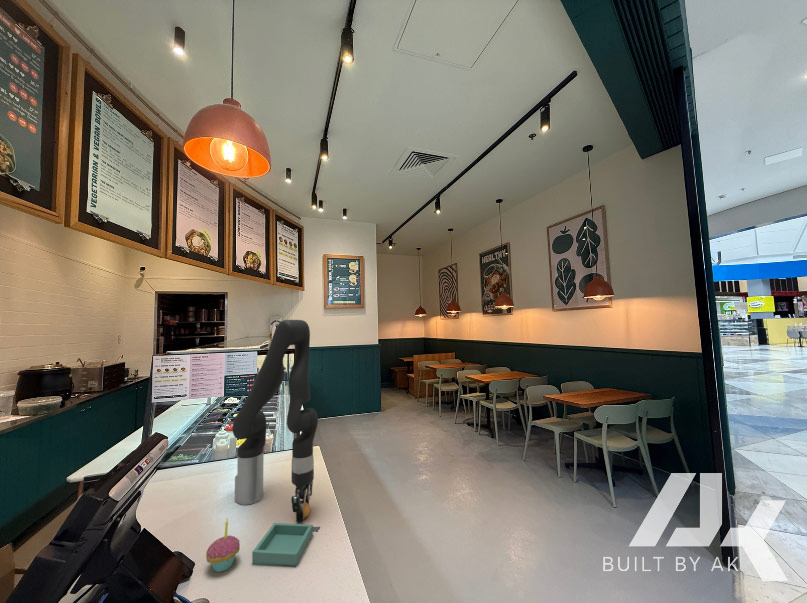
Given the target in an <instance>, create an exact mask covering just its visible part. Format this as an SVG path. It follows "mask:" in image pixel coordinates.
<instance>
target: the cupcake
mask: <svg viewBox="0 0 807 603" xmlns="http://www.w3.org/2000/svg"><path fill="white" fill-rule="evenodd" d="M224 525H225V527H224V536H222V537H220V538H217V539H216V540H215V541H213V542H212V543H211V544H210V545H209V546H208V548H207V550H206V551H205V552H206V554H205V555H206V556H205V557H206V563H210V564H211V566H212V568H213V570H214V571H215V572H217V573H221V572H224V571H226V570H228V569H229V568H230V567H231V566H232V565H233V562H234V559H235V557H236V555H237V554H238V553H239V552H240V547H241V545H240V544H241V543H240V539H238V538H237V537H235V536H233V535H228V527H229V526H228V525H229V521H228V518H226V521H225V524H224Z"/></svg>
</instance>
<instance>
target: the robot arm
mask: <svg viewBox="0 0 807 603" xmlns="http://www.w3.org/2000/svg"><path fill="white" fill-rule="evenodd" d="M310 331H311V330H310V326H309V324H308V323H307V322H306V321H305V320H303V319H283V320H281V321H280V322H279V323H278V324H277V325H276V328H275V330H274V333H273V335H272V337H271V338H272V339H271V340H270V341H271V342H270V344H269V348H268V351H267V353H266V355H265V357H264V360H263V362H262V365H261V367H260V369H259V371H258V373H257V375H256V377H255V378H254V379H255V380H254V381H253V384H252V386H251V388H250V390H249V393H248V394H247V396H246V399H245V400H244V403H243V405H242V406H241V408H240V409H239V411H238V412H237V414H236V416H235V418H234V420H233V421H232V428H231V429H232V434H233V436H234V438H235V439H237V440H244V441H243V442H242V443H241V444H240V445H239V447H238V448H237V454H236V455H237V460H236V463H237V464H236V465H237V466H236V467H237V468H236V469H237V472H236V475H235V476H234V502H235V503H238V504H239V505H241V506H247V505H252V504H255V503H258V502H259V501H260V499H261V498H262V499H263V498H264V449H265V448H264V447H265V445H266V440H267V438H266V437H267V417H266V414H265V413H264V411H263V410H262V409H263V407H265V406H266V405H267V404H268V403H269V402H270V401H271V400H272V399H273V397H274V396H275V395H276V394H277V393H278V391H279V390H280V387H281V385H282V383H283V381H284V378H285V372H286V371H285V365H284V358H285V355H286V353H287V350H288V349H289V347H290V346H294V350H295V351H294V352H295V353H294V360H293V364H292V367H291V370H290V373H289V377H288V393H289V403H288V411H287V415H286V426H287V429H288V430H289V431H290V433H292V434H298V433H300V434H299V435H298V436H296V437H295V438H294V439H293V440H292V446H291V449H292V450H291V452H292V453H291V454H292V457H291V484H292V485H293V486H295V490H294V495H292V496H291V499H290V500H291V508H292V509H291V510H292V513H295V512H296V514H295V520H296V522H297V523H302V522H303V521H304V518H303V506H304V503H305V502H307V503H308V504H309V505H310V501H311V497H312V494H313V487H314V484H313V483H314V477H315V476H314V475H315V471H314V469H315V466H314V465H315V463H314V462H315V461H314V460H315V459H314V439H315V435H316V431H317V428H318V422H319V416H318V413H317V411H316V410H315V409H314V408H313V407H308V408H305V409H304V408H303V409H302V407H303V405H304V404H305V403H307V402H309V401H310V400H311V388H310V378H309V376H310V375H309V361H310V360H309V359H310V345H311V344H310V342H311V341H310V340H311V332H310ZM262 499H261V500H262Z"/></svg>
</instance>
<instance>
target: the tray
mask: <svg viewBox="0 0 807 603" xmlns="http://www.w3.org/2000/svg"><path fill="white" fill-rule="evenodd" d="M313 527H314V525H313V524H306V523H303V524H302V523H284V522H282V523H281V522H273V524H272V525H271V526H270V528H269V529H268V531H267V532H266V533H265V535H264V536H263V537H262V538H261V540H260V541H259V542H258V543H257V545H256V547H255V548H254V549H253V550H252V552H251V554H252V556H251V558H252V559H251V561H252V563H251V564H252V565H253V566H254V565H255V566H257V565H258V566H269V567H271V566H272V567H273V566H274V567H289V568H297V566H298V565H299V563H300V561H301V559H302V557H303V555H304V553H305V551H306V550H305V549H307V548H308V546H309V544H310V542H311V541H312V539H313V536H314V532H313ZM309 541H310V542H309ZM308 543H309V544H308ZM307 545H308V546H307ZM306 547H307V548H306Z"/></svg>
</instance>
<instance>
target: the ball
mask: <svg viewBox="0 0 807 603" xmlns="http://www.w3.org/2000/svg"><path fill="white" fill-rule="evenodd" d="M310 512H311V506H310V503H309V504H308V503H307V502H305V503H304V506H303V519H306V518H307V517H308V516H309V514H310ZM294 514H295V515H296V512H294Z"/></svg>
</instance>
